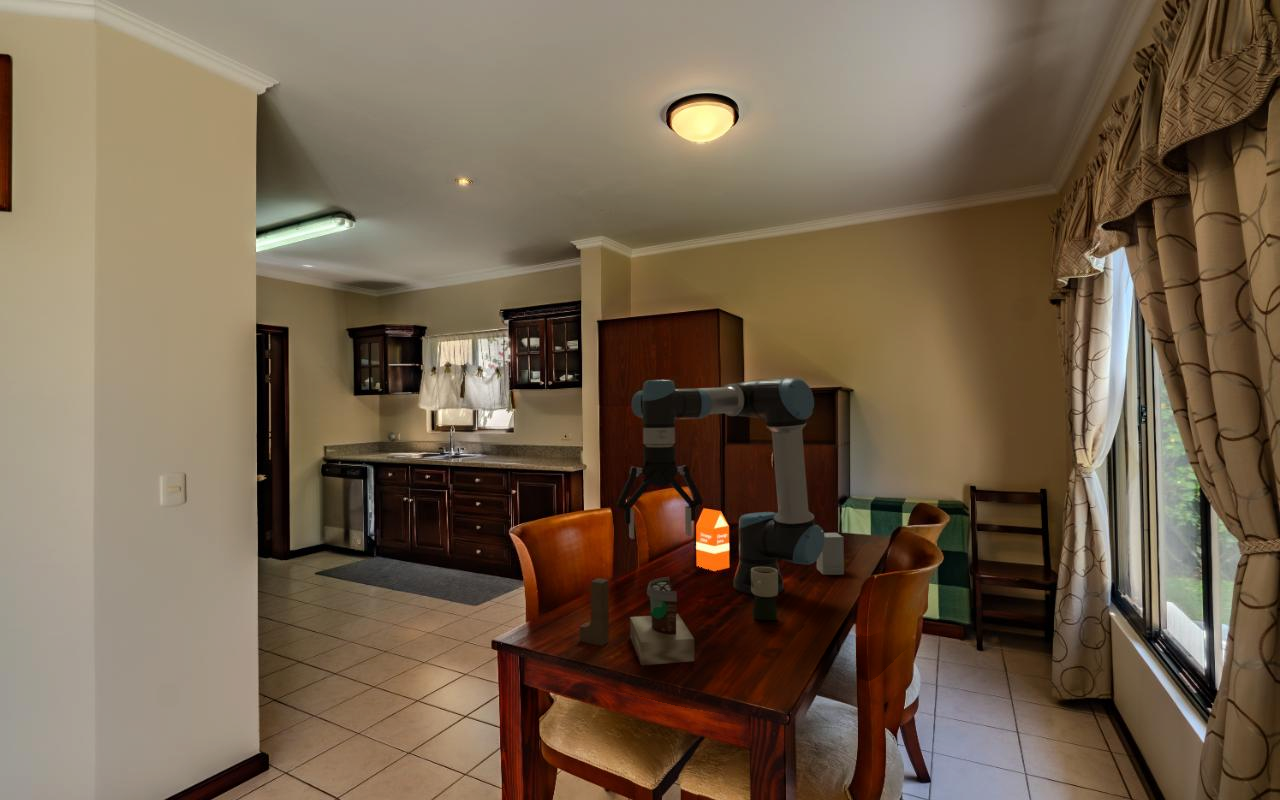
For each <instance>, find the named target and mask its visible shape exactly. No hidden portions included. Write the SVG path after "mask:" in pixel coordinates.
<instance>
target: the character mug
mask: <svg viewBox="0 0 1280 800" xmlns="http://www.w3.org/2000/svg"><path fill="white" fill-rule="evenodd" d="M751 592H752V593H753V594H752V595H754V596H755V597H754V601H753V607H752V617H753V618H754V619H755V620H763V622H764V621H774V620H776V619H777V618H778V616H777V615H778V614H777V607H776V600H775V597H777V596H778V595H779V593H778V570H777V569H775V568H771V567H754V568H752V569H751Z"/></svg>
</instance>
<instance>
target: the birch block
mask: <svg viewBox="0 0 1280 800" xmlns="http://www.w3.org/2000/svg"><path fill="white" fill-rule="evenodd" d="M629 622H630V627H629V628H630V629H629V632H630V639H631V643H632V644H633V645H632V646H633V648H634V650H635V654H636V655H637V657H638V660H639V663H640V665H641V666H651V665H663V664H673V663H675V664H676V663H686V662H687V663H688V662H695V637H694V636H693V634H692V633H691V632H690V630H689V628H688V627H687V625H686V624H685V622H684V621H683V619H682V618H681V616H680V615H679V614H678V613H676V634H663V633H659V632H657V631H655V630H653V628H652V620H651V615H642V616H639V615H638V616H631V617H629Z"/></svg>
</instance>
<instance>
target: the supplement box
mask: <svg viewBox="0 0 1280 800" xmlns="http://www.w3.org/2000/svg"><path fill="white" fill-rule="evenodd" d="M824 536H825V540H824V547H823V550H822V552H821V554H820V556H819V558H818V559H817V560H816V570H817V571H819V572H820V574H822V575H823V576H824V575H825V576H835V575H837V576H840V575H841V576H843V575H844V574H845V555H844V554H845V551H844V549H845V548H844V544H845V543H844V536H842V535H841V534H840V533H838V532H824ZM844 576H845V575H844Z"/></svg>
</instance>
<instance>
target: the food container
mask: <svg viewBox="0 0 1280 800" xmlns="http://www.w3.org/2000/svg"><path fill="white" fill-rule="evenodd" d="M646 595H647V596H648V597H649V603H650V605H649V606H650V616H651V620H652V628H653V630H655V631H657V632H659V633H663V634H676V614H677V600H678V595H677V591H674V588H673V586H672V585H671V582H670V576H667V577H666V576H665V577H659V578H655V579H653V580H651V581H649V583H648V586H647V590H646Z"/></svg>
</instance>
